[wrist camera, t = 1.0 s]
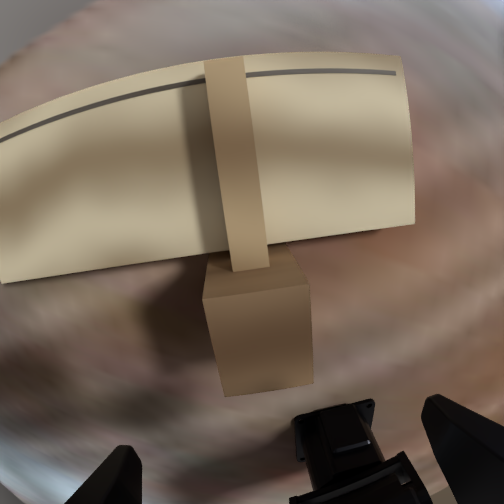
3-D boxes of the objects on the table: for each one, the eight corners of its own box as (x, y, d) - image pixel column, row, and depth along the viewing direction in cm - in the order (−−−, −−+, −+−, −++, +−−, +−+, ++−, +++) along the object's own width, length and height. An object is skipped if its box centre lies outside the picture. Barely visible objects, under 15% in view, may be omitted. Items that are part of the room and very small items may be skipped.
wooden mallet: (290, 318, 19) (313, 383, 13) (224, 328, 19) (224, 396, 13) (262, 73, 15) (281, 35, 9) (184, 83, 15) (163, 50, 9)
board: (397, 215, 18) (415, 223, 16) (17, 271, 17) (1, 283, 15) (383, 63, 15) (401, 56, 13) (-10, 137, 14) (-30, 138, 12)
